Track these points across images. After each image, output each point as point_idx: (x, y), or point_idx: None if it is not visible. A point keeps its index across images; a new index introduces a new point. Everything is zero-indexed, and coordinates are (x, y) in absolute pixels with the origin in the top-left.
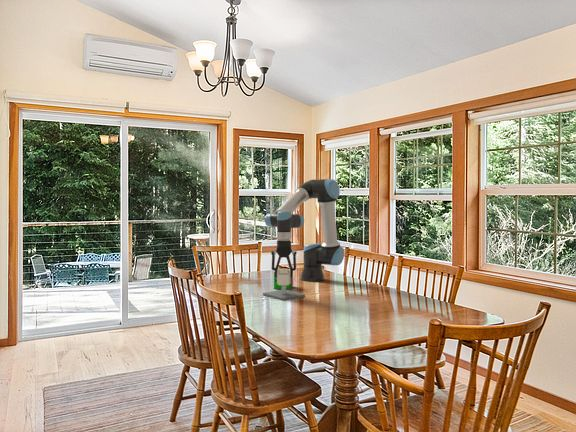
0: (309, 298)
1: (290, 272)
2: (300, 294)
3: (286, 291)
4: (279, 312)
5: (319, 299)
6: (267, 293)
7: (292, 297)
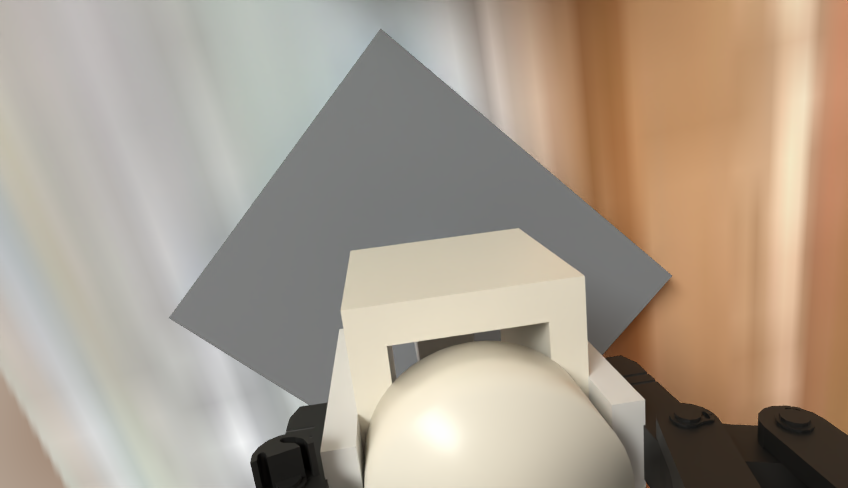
0: (706, 333)
1: (636, 463)
2: (624, 287)
3: (437, 155)
4: None
5: (799, 351)
6: (235, 330)
7: None
